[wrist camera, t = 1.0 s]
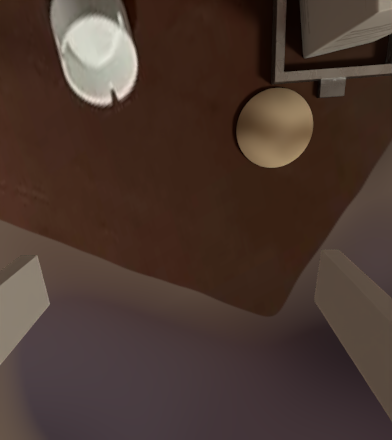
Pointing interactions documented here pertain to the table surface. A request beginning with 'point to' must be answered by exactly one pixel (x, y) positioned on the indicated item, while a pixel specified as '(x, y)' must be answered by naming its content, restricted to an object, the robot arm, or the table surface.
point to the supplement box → (342, 24)
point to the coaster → (274, 127)
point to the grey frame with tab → (328, 78)
